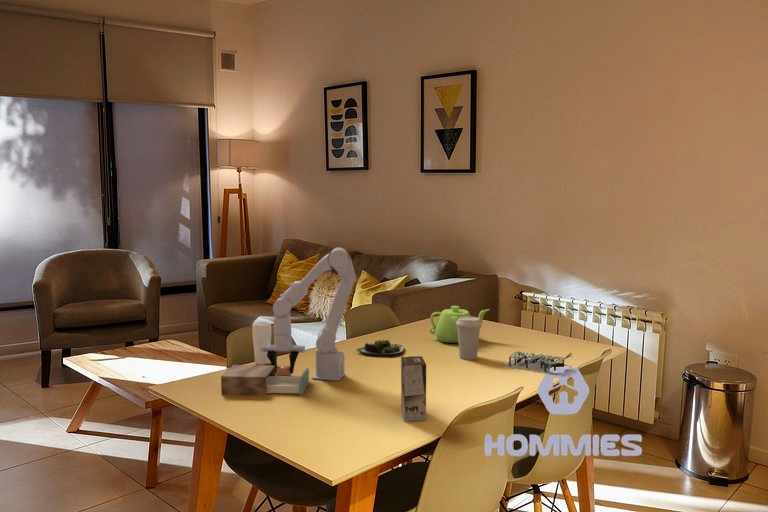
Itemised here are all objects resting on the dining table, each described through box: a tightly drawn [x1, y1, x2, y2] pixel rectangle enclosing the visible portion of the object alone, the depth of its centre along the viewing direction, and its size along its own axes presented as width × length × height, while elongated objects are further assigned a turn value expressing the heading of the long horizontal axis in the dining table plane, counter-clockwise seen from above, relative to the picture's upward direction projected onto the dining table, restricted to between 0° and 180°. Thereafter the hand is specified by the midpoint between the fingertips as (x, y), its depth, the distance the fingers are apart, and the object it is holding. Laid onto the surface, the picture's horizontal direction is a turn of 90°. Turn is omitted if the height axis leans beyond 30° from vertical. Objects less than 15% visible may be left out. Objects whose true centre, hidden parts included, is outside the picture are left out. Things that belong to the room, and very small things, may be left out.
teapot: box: [428, 305, 490, 344], centre depth 275 cm, size 19×20×14 cm
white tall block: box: [251, 321, 272, 365], centre depth 239 cm, size 7×7×15 cm
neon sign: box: [504, 351, 572, 376], centre depth 242 cm, size 21×4×29 cm
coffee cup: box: [456, 315, 483, 361], centre depth 247 cm, size 10×10×15 cm
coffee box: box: [400, 355, 427, 422], centre depth 185 cm, size 9×6×16 cm
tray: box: [266, 367, 310, 396], centre depth 210 cm, size 14×13×5 cm
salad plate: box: [356, 339, 405, 358], centre depth 258 cm, size 19×18×5 cm
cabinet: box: [220, 364, 276, 396], centre depth 210 cm, size 14×13×6 cm
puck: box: [275, 364, 292, 376], centre depth 223 cm, size 5×5×4 cm
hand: (283, 372), depth 223 cm, fingers closed on puck, 5 cm apart
